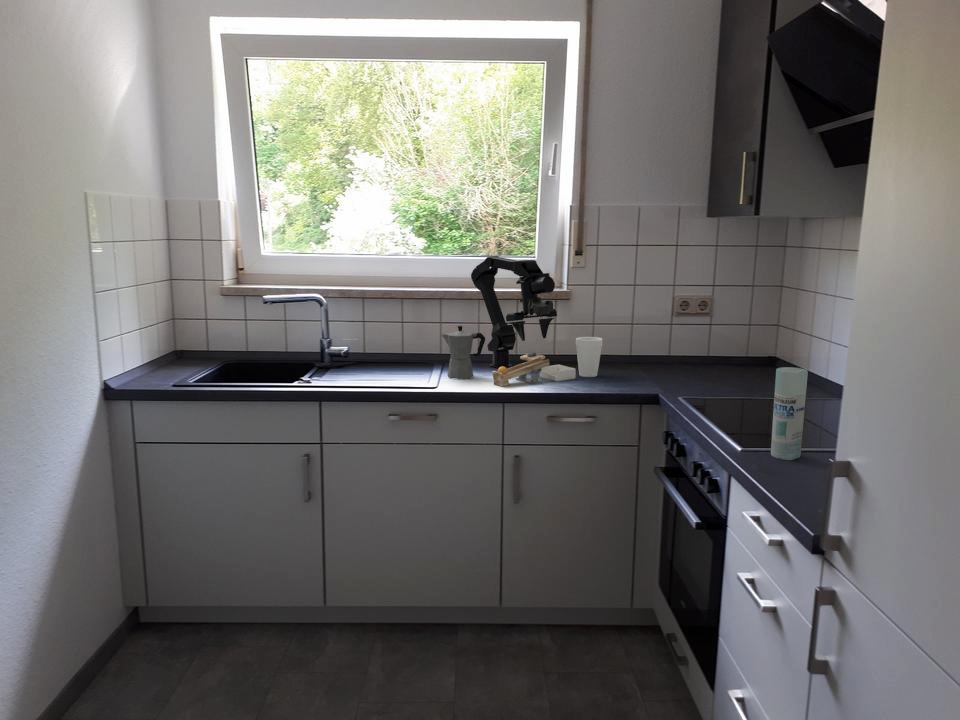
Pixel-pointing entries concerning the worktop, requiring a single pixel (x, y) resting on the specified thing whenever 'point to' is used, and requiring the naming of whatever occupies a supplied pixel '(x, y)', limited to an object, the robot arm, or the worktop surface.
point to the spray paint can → (788, 412)
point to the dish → (557, 372)
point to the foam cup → (588, 355)
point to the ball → (502, 370)
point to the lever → (521, 368)
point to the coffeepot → (462, 352)
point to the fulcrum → (532, 380)
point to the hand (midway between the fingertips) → (534, 339)
